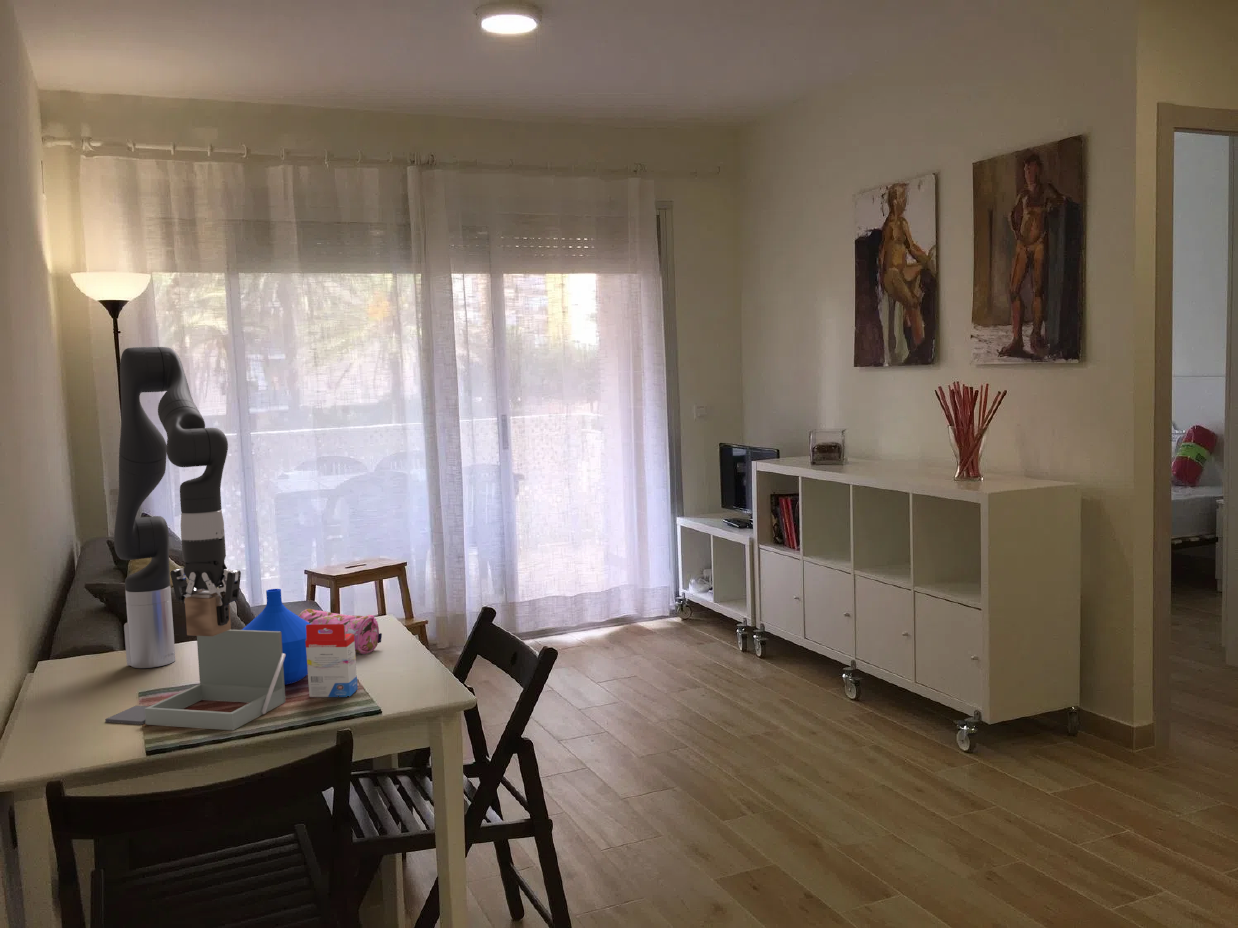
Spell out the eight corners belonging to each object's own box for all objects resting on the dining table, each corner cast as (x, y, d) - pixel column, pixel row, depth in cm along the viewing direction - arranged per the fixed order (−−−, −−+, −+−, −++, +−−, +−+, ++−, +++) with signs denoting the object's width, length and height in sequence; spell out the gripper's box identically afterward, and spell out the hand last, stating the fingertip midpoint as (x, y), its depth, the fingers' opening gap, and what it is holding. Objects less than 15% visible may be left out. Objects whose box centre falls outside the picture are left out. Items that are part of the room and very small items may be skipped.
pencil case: (386, 648, 239) (384, 611, 238) (359, 658, 231) (357, 619, 230) (316, 640, 248) (314, 604, 248) (288, 650, 240) (286, 612, 240)
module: (187, 635, 191) (184, 595, 190) (206, 628, 196) (203, 589, 195) (212, 636, 189) (210, 596, 189) (231, 629, 195) (228, 590, 194)
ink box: (358, 690, 206) (354, 618, 205) (349, 697, 201) (345, 624, 200) (317, 690, 207) (313, 618, 206) (307, 697, 202) (303, 624, 201)
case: (145, 724, 189) (140, 649, 188) (203, 697, 204) (199, 628, 203) (236, 730, 184) (232, 653, 182) (289, 702, 199) (285, 631, 198)
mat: (105, 721, 191) (105, 718, 191) (136, 708, 198) (135, 705, 198) (141, 724, 189) (141, 721, 189) (171, 710, 196) (171, 707, 196)
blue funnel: (215, 682, 214) (210, 592, 213) (294, 662, 228) (289, 578, 226) (261, 698, 202) (256, 603, 201) (341, 676, 216) (336, 587, 214)
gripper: (156, 537, 189) (162, 627, 191) (223, 538, 186) (229, 630, 187) (183, 531, 196) (189, 618, 198) (248, 532, 193) (254, 620, 194)
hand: (208, 623), depth 192 cm, fingers closed on module, 5 cm apart
